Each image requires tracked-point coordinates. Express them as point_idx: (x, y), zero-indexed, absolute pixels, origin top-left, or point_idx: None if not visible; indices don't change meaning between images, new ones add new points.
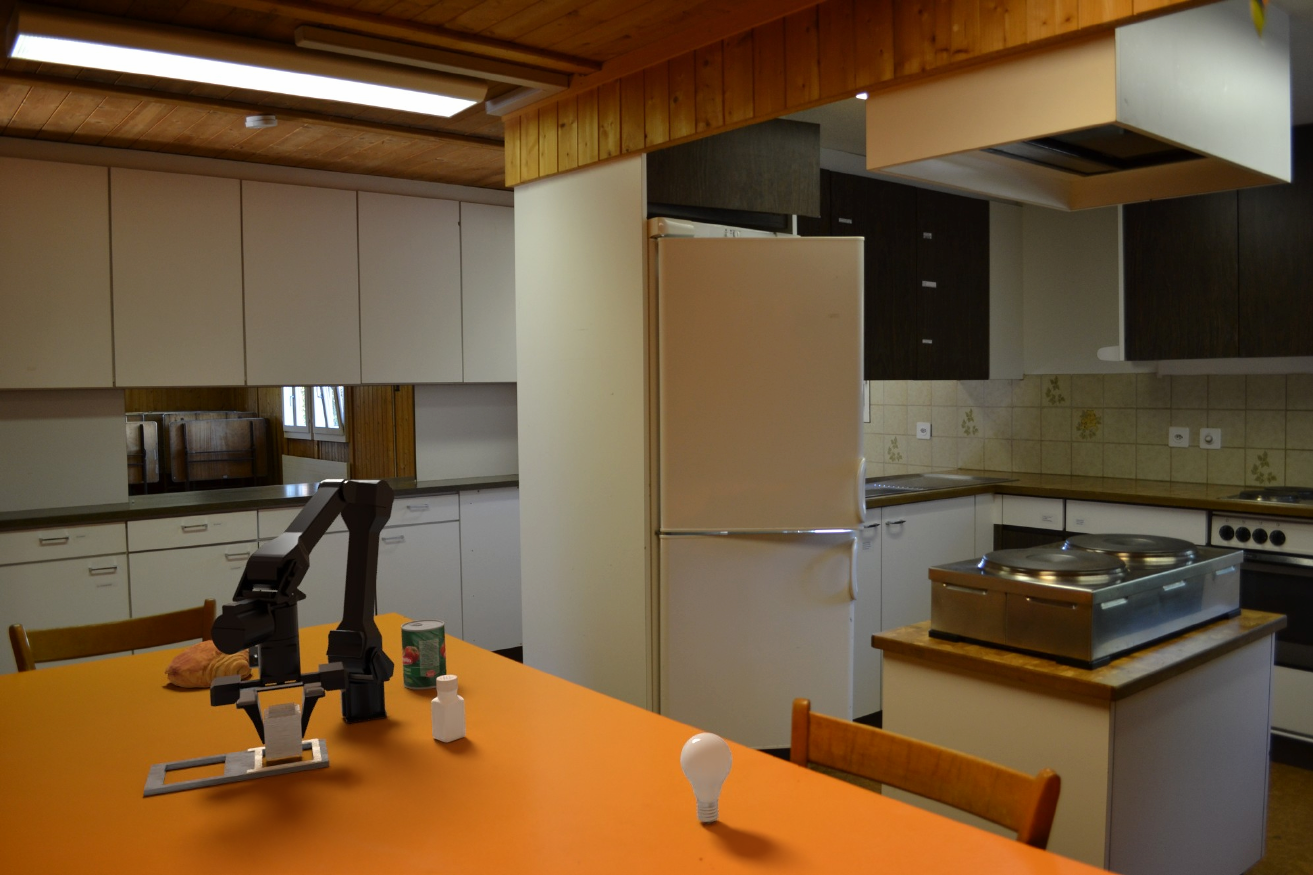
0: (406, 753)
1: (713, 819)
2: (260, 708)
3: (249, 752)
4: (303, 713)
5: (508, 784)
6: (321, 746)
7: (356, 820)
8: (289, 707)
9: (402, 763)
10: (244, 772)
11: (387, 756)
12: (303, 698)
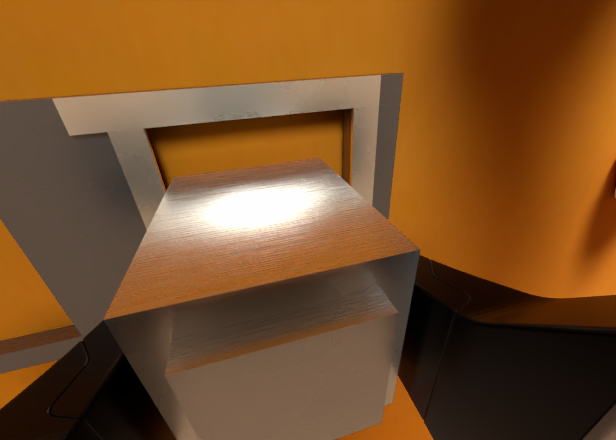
0: (529, 233)
1: None
2: (99, 428)
3: (82, 136)
4: (405, 382)
5: None
6: (379, 165)
7: (380, 434)
8: (352, 399)
9: (499, 281)
10: None
11: (494, 240)
12: (477, 433)
